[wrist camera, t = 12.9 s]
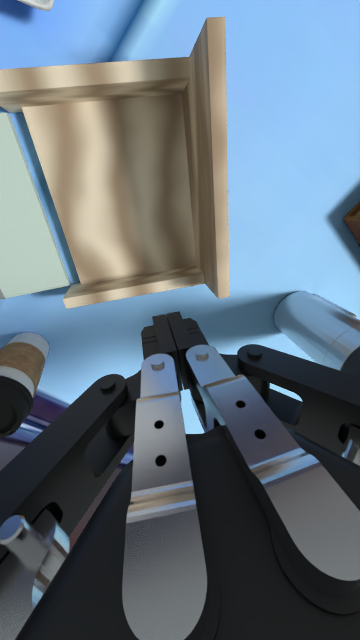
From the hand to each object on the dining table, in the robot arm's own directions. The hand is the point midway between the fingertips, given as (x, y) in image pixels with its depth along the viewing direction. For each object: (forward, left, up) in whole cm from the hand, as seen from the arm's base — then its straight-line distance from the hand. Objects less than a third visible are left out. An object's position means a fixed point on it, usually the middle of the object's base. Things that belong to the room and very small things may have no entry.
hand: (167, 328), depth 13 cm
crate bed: (+2, -6, -27) cm, 28 cm away
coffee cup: (+22, +14, -27) cm, 38 cm away
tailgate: (+12, -6, -27) cm, 30 cm away
